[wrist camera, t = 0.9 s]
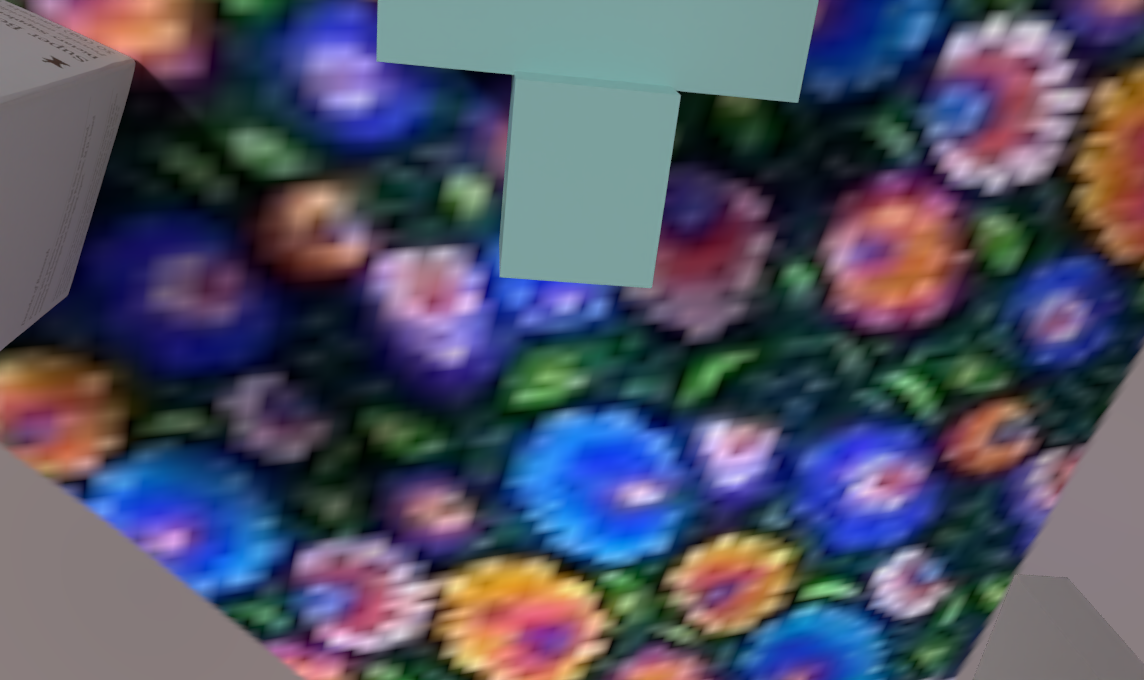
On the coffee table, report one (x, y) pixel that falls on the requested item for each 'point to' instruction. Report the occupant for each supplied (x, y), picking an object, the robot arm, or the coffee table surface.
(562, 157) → the lid
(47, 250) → the supplement box
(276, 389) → the coffee table surface
